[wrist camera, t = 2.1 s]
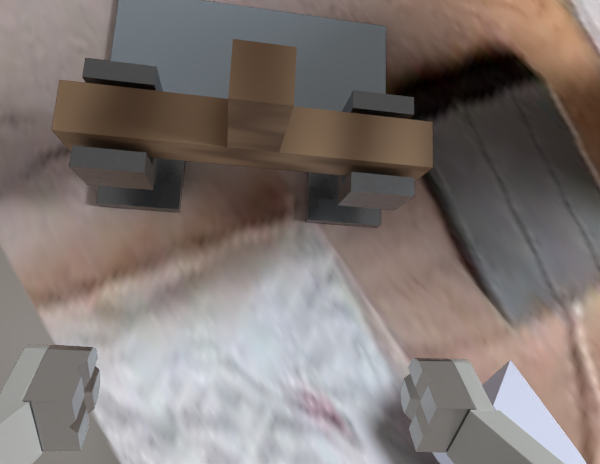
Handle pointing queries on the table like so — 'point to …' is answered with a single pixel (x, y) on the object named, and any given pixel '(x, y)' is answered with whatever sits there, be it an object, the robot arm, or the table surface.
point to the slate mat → (251, 27)
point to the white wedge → (525, 414)
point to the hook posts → (169, 173)
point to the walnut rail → (243, 123)
